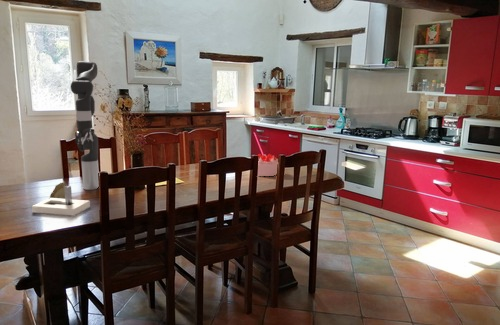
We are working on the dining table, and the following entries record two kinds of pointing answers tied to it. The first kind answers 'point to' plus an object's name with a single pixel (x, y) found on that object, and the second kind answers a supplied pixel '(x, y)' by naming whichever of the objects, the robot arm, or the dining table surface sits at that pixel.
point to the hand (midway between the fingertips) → (86, 149)
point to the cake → (267, 165)
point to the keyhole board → (61, 207)
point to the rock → (59, 191)
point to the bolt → (68, 195)
